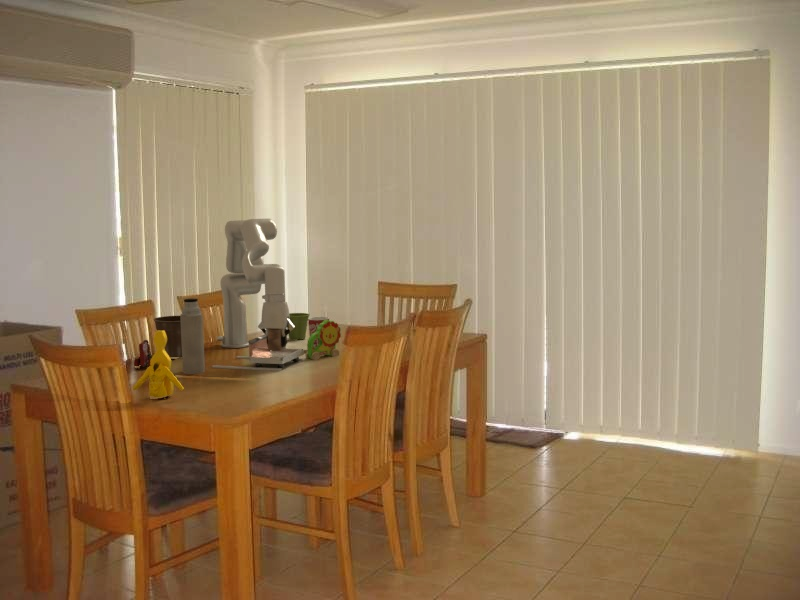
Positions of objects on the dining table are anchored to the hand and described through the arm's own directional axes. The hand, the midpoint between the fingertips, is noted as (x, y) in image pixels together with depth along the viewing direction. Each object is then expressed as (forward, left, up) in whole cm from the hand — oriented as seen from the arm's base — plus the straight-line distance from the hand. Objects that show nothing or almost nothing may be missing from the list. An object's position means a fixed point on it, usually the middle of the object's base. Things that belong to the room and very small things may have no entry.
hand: (276, 345), depth 354 cm
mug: (+1, +41, -9) cm, 42 cm away
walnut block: (0, 0, -1) cm, 1 cm away
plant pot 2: (-19, +64, -9) cm, 67 cm away
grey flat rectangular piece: (-8, 0, -8) cm, 12 cm away
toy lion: (+11, +21, -9) cm, 25 cm away
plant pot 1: (-50, +11, -9) cm, 52 cm away
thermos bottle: (-25, -19, -9) cm, 33 cm away
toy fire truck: (-50, -11, -9) cm, 52 cm away
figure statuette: (-16, -57, -9) cm, 60 cm away
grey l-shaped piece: (0, 0, -7) cm, 7 cm away
